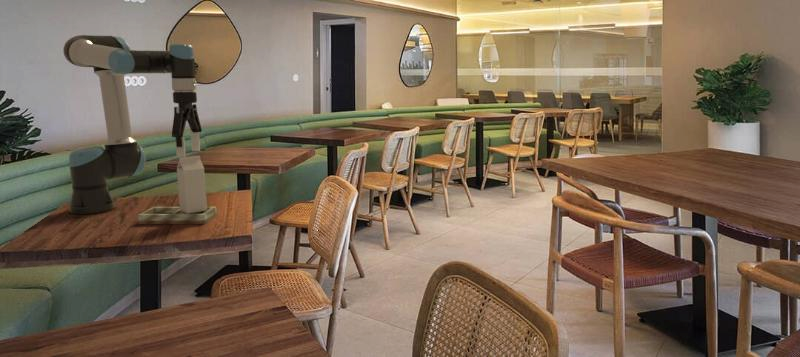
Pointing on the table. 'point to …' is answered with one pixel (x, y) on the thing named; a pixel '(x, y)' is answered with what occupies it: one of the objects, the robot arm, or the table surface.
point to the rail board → (175, 216)
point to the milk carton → (191, 185)
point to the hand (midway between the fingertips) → (188, 153)
